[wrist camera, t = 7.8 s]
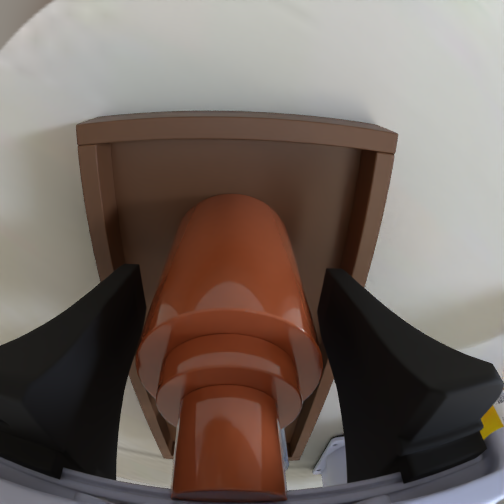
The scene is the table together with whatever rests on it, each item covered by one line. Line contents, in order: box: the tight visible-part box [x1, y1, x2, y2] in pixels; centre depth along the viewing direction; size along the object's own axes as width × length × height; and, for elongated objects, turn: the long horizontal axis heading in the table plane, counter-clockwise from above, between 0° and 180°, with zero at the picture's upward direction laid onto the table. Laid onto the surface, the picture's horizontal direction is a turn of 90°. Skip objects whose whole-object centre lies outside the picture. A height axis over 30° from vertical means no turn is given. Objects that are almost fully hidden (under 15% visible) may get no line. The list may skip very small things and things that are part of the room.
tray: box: [76, 111, 398, 461], centre depth 17 cm, size 26×12×2 cm, turn 177°
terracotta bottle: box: [135, 194, 323, 503], centre depth 9 cm, size 5×5×10 cm
